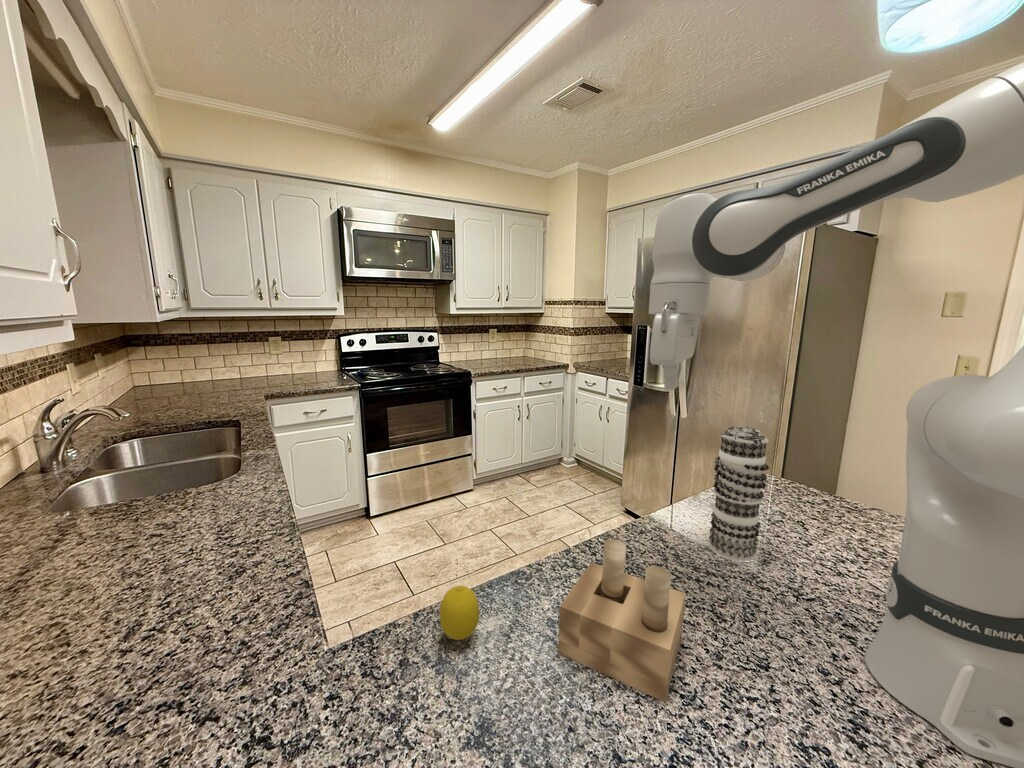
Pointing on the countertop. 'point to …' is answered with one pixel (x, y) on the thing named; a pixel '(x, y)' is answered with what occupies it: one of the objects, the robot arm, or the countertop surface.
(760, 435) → the decorative candle
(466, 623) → the lemon
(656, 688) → the wooden peg hole block
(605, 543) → the peg
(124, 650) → the countertop surface
